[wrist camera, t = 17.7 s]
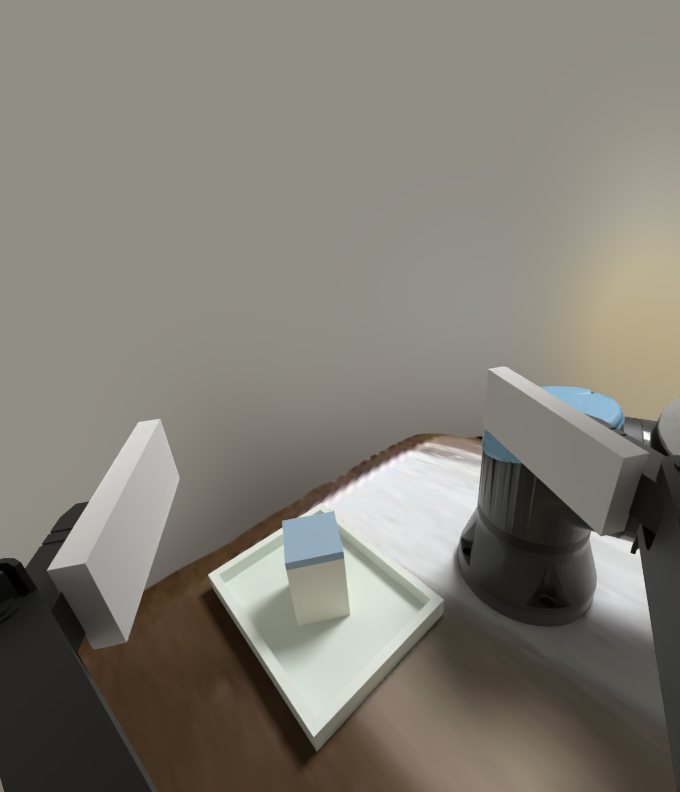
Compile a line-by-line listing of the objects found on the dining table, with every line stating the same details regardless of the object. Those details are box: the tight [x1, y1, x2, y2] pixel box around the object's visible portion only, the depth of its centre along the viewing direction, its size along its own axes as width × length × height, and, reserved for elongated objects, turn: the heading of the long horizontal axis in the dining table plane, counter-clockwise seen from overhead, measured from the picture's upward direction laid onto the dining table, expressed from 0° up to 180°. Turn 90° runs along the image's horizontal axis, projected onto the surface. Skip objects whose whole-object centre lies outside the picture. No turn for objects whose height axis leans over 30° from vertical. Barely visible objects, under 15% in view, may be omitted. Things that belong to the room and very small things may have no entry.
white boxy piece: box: [282, 511, 350, 627], centre depth 43 cm, size 6×6×10 cm
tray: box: [208, 503, 444, 751], centre depth 45 cm, size 18×22×2 cm
